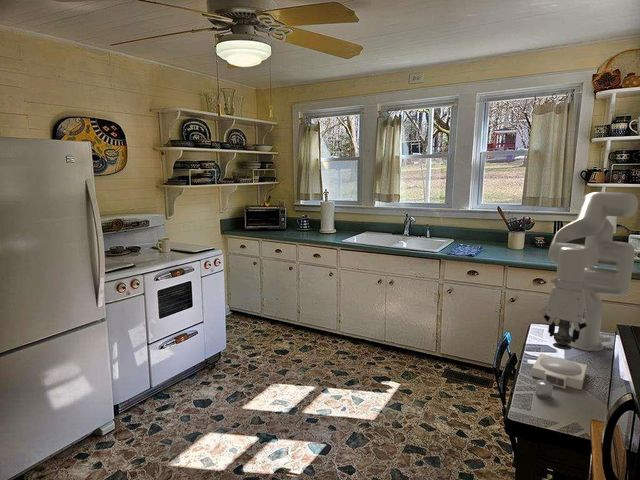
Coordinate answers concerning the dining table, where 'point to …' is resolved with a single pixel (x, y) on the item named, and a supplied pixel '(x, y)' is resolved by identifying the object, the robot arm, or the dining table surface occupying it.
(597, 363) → the dining table surface
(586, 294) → the robot arm
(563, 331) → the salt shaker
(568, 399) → the dining table surface
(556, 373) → the scale
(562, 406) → the dining table surface
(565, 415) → the dining table surface
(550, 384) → the steel spacer
